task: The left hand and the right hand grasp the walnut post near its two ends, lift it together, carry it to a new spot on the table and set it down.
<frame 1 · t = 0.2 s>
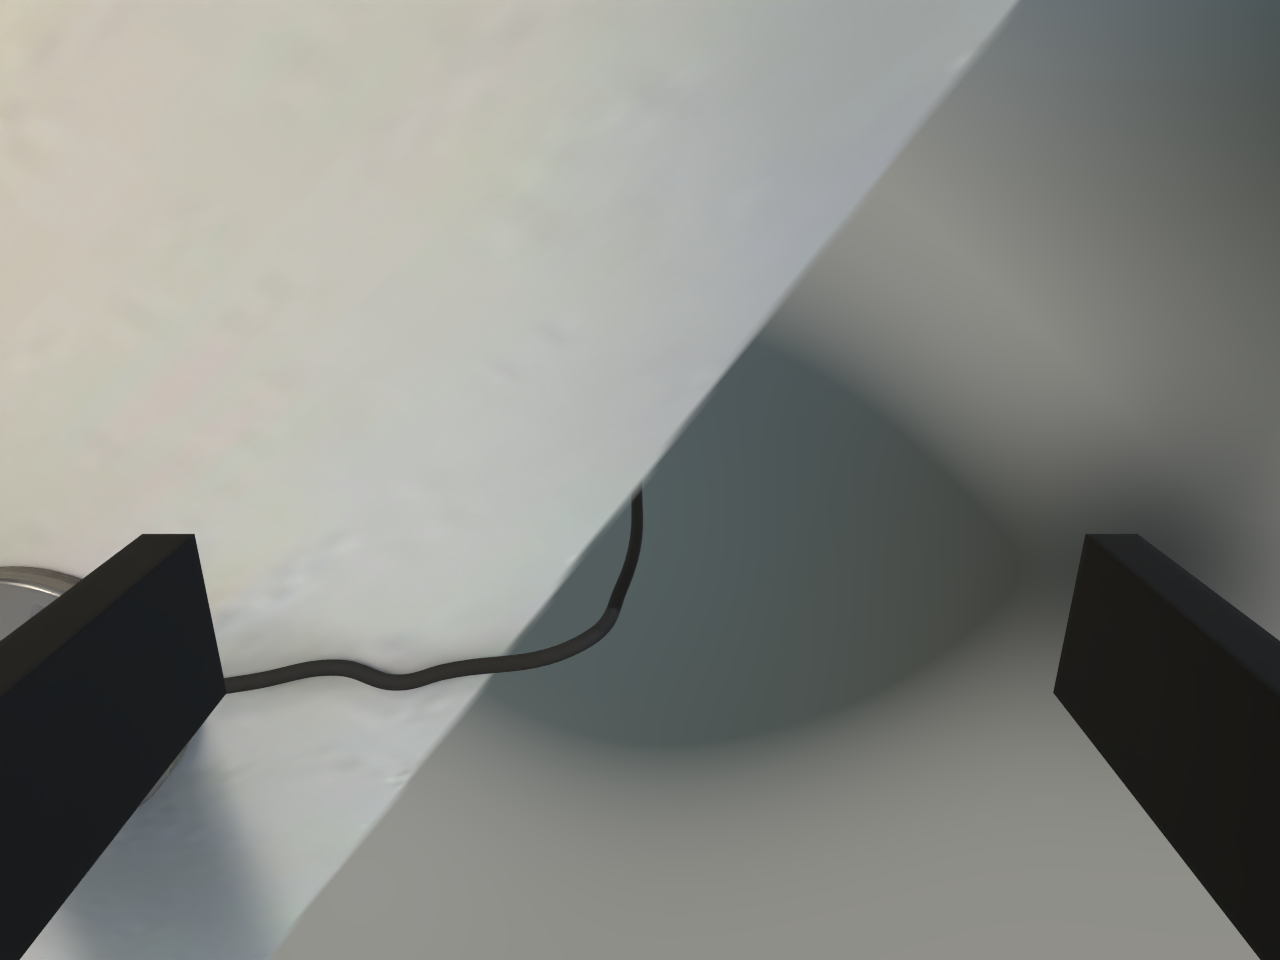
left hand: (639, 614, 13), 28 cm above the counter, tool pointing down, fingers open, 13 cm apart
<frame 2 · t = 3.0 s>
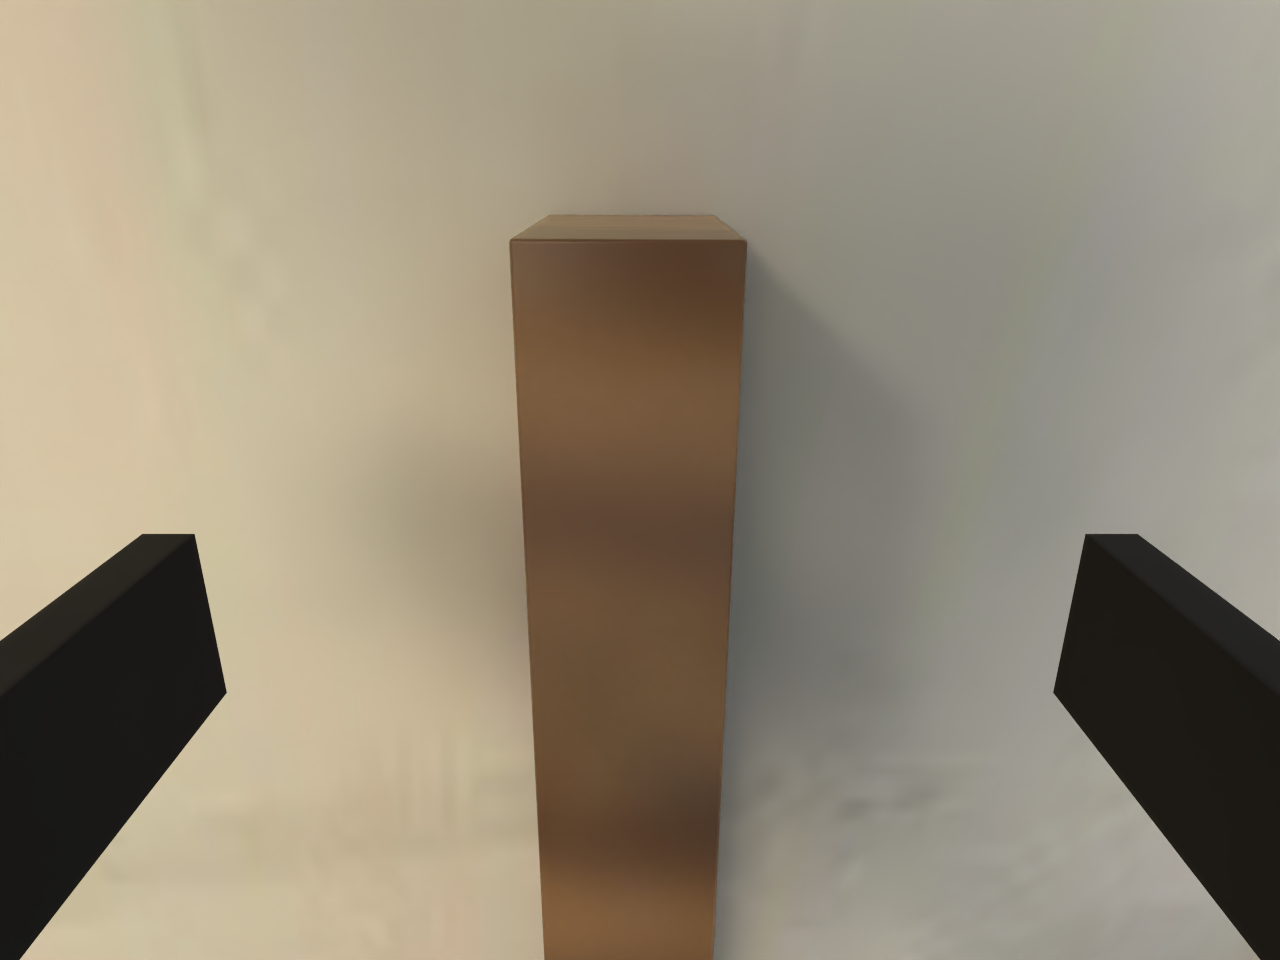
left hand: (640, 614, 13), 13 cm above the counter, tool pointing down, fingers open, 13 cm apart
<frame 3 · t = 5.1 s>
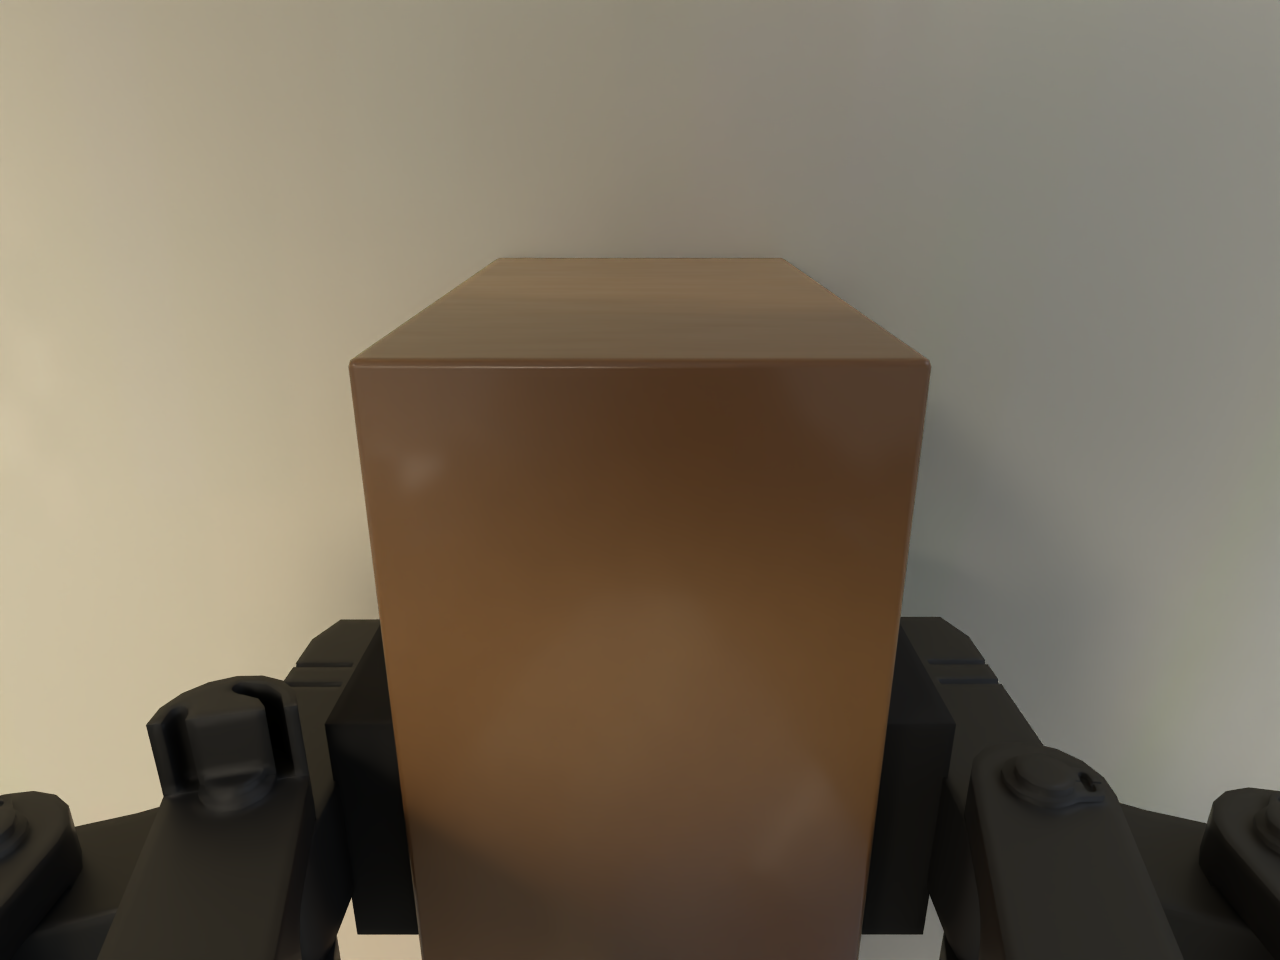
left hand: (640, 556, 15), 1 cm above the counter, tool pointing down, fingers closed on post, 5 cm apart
when the left hand's fingers open (2 cm above the counter, at t = 12.2 s): post drops 1 cm, on the counter.
when the right hand's fingers open (2 cm above the counter, at t = 12.2 s): post drops 1 cm, on the counter.
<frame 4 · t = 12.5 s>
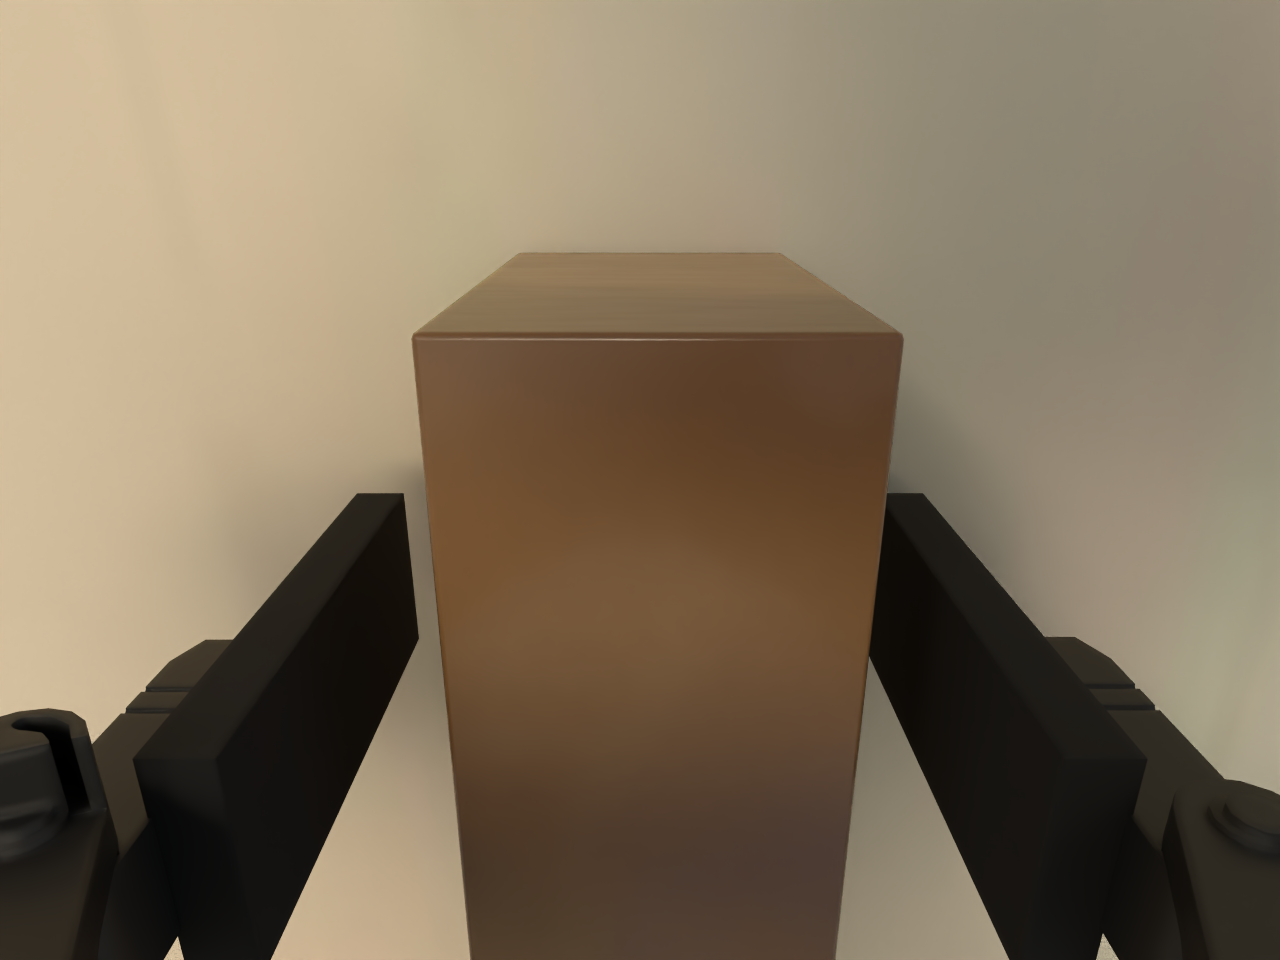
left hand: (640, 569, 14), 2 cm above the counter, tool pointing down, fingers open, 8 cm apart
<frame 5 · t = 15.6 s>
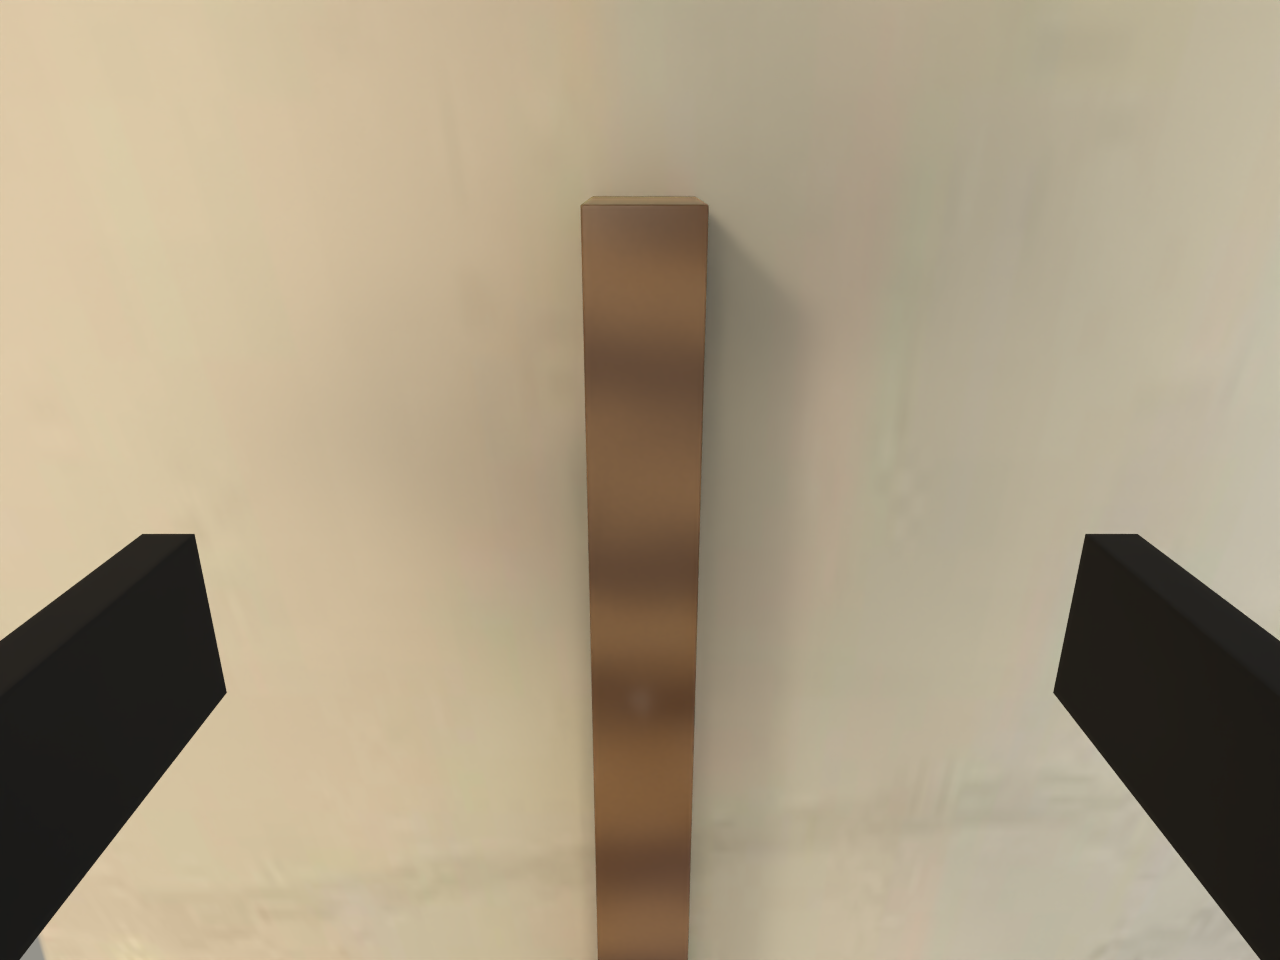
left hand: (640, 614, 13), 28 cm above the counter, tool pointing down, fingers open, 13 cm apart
post: (642, 763, 48), on the counter
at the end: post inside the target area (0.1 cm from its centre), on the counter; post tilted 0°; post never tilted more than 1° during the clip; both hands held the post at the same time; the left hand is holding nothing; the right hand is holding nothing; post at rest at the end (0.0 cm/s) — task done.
